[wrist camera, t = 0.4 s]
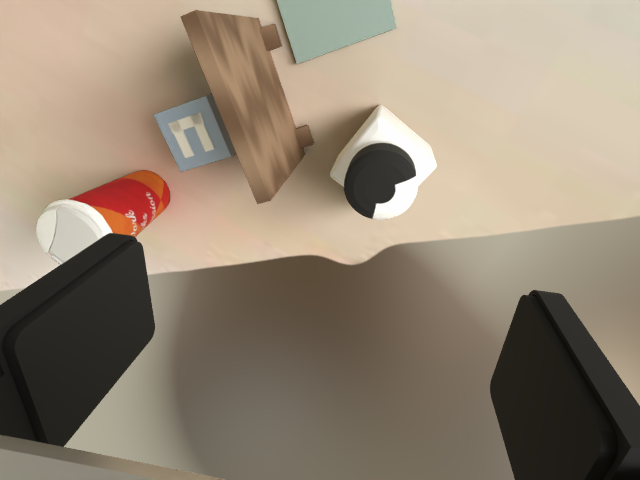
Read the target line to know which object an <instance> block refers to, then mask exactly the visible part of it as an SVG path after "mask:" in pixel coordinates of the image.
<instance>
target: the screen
mask: <svg viewBox="0 0 640 480" xmlns="http://www.w3.org/2000/svg"><path fill="white" fill-rule="evenodd" d="M181 19H182V22H183V24H184V27H185V29H186V31H187V34H188V36H189V39H190V41H191V44H192V46H193V49H194V51H195V53H196V56H197V58H198V61H199V63H200V66H201V68H202V70H203V73H204V75H205V78H206V80H207V83H208V85H209V88H210V90H211V92H212V95H213V97H214V100H215V102H216V105H217V107H218V109H219V112H220V114H221V117H222V119H223V122H224V124H225V127H226V129H227V131H228V134H229V136H230V139H231V141H232V144H233V146H234V148H235V151H236V153H237V156H238V158H239V161H240V163H241V166H242V168H243V170H244V173H245V175H246V178H247V180H248V183H249V185H250V187H251V190H252V192H253V195H254V197H255V200H256V202H257V204H259V203H263V202H267V201H271V199H272V198H273V197H274V195H275V194H276V193H277V191H278V190H279V189H280V187H281V186H282V185H283V183H284V182H285V181H286V179H287V178H288V177H289V175H290V174H291V173H292V171H293V170H294V169H295V167H296V166H297V165H298V163H299V162H300V161H301V159H302V158H303V157H304V155H305V153H304V151H303V147H307V146H310V145H312V144H313V143H314V142H313V139H312V136H311V132H310V129H309V126H308V125H306V126H302V127H299V128H296V127H295V124H294V121H293V118H292V115H291V112H290V109H289V106H288V104H287V101H286V98H285V95H284V92H283V89H282V86H281V83H280V80H279V77H278V74H277V71H276V68H275V65H274V62H273V59H272V56H271V54H270V50H273V49H276V48H278V47H281V46H282V44H281V41H280V38H279V35H278V32H277V28H276V25H275V24H271V25H269V26H266V27H264V28H262V27H261V24H260V21H259V18H252V17H244V16H236V15H229V14H221V13H213V12H206V11H198V10H195V11H193V12H190V13H188V14H186V15H183V16H181Z"/></svg>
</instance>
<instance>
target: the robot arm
mask: <svg viewBox="0 0 640 480" xmlns="http://www.w3.org/2000/svg"><path fill="white" fill-rule="evenodd" d="M154 330H155V323H154V316H153V310H152V303H151V297H150V290H149V284H148V277H147V271H146V264H145V257H144V251H143V246H142V244H141V243H140V242H137V239H136V238H135V237H134V236H132V235H124V234H117V233H109V234H106V235H105V236H103V237H102V238H100V239H99V240H97V241H96V242H94V243H93V244H91V245H90V246H88V247H87V248H85V249H84V250H82V251H81V252H79V253H78V254H76V255H75V256H73V257H72V258H70V259H69V260H67V261H66V262H64V263H63V264H61V265H60V266H58V267H57V268H55V269H54V270H52V271H51V272H49V273H48V274H46V275H45V276H43V277H42V278H40V279H39V280H37V281H36V282H34V283H33V284H31V285H30V286H28V287H27V288H25V289H24V290H22V291H21V292H19V293H18V294H16V295H15V296H13V297H12V298H10V299H9V300H7V301H6V302H4V303H3V304H1V305H0V480H226V479H221V478H216V477H211V476H206V475H201V474H196V473H192V472H186V471H182V470H177V469H172V468H167V467H162V466H157V465H152V464H147V463H142V462H137V461H132V460H126V459H121V458H116V457H112V456H106V455H101V454H96V453H91V452H86V451H81V450H76V449H71V448H66V447H64V445H65V444H66V443H67V442H68V441H69V440H70V438H71V437H72V436H73V435H74V433H75V432H76V431H77V430H78V429H79V427H80V426H81V425H82V424H83V422H84V421H85V420H86V419H87V417H88V416H89V415H90V414H91V412H92V411H93V410H94V409H95V408H96V406H97V405H98V404H99V403H100V401H101V400H102V399H103V398H104V396H105V395H106V394H107V393H108V392H109V390H110V389H111V388H112V387H113V386H114V384H115V383H116V382H117V380H118V379H119V378H120V377H121V376H122V374H123V373H124V372H125V371H126V370H127V368H128V367H129V366H130V365H131V363H132V362H133V361H134V360H135V358H136V357H137V356H138V355H139V353H140V352H141V351H142V350H143V349H144V347H145V346H146V345H147V344H148V342H149V341H150V340H151V339H152V337H153V334H154ZM490 393H491V398H492V401H493V405H494V408H495V412H496V415H497V419H498V422H499V426H500V429H501V433H502V436H503V440H504V443H505V447H506V450H507V454H508V457H509V460H510V464H511V467H512V471H513V474H514V478H515V480H640V406H639V404H638V403H637V401H636V400H635V398H634V397H633V396H632V394H631V393H630V391H629V390H628V388H627V387H626V385H625V384H624V383H623V382H622V380H621V378H620V377H619V375H618V374H617V373H616V371H615V370H614V368H613V367H612V365H611V364H610V362H609V361H608V360H607V358H606V357H605V355H604V354H603V352H602V351H601V349H600V348H599V347H598V345H597V344H596V342H595V341H594V340H593V338H592V337H591V335H590V334H589V332H588V331H587V329H586V328H585V326H584V325H583V324H582V322H581V321H580V319H579V318H578V317H577V315H576V313H575V312H574V311H573V309H572V308H571V306H570V305H569V303H568V302H567V300H566V299H565V298H564V296H563V295H562V294H559V293H551V292H545V291H537V290H533V291H531V292H530V294H529V295H523V296H522V297H521V298H520V300H519V303H518V305H517V308H516V311H515V314H514V317H513V320H512V322H511V325H510V328H509V331H508V334H507V337H506V340H505V342H504V345H503V348H502V351H501V354H500V357H499V360H498V362H497V365H496V368H495V371H494V374H493V376H492V380H491V385H490Z"/></svg>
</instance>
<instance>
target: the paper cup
mask: <svg viewBox="0 0 640 480" xmlns="http://www.w3.org/2000/svg"><path fill="white" fill-rule="evenodd" d="M169 202H170V191H169V188H168V186H167V184H166V183H165V181H164V180H163V179H162V178H161V177H160V176H158V175H157V174H155V173H153V172H151V171H145V170H143V171H138V172H135V173H132V174H129V175H127V176H124V177H122V178H119V179H117V180H114V181H112V182H109V183H107V184H104V185H102V186H100V187H97V188H95V189H92V190H90V191H87V192H85V193H83V194H80V195H78V196H75V197H73V198H71V199H65V200H57V201H55V202H52V203H51V204H49V205H48V206H47V207H46V208H45V210H44V212H43V214H42V215H41V216H40V217H39V219H38V222H37V226H36V233H37V237H38V241H39V243H40V245H41V247H42V248H43V250H44V251H45V253H46V254H47V253H49V254H50V255H51V256H52V257H51V258H53V259H54V260H55V261H56V262H58V263H59V264H60V265H61V264H63V263H64V262H66V261H67V260H69V259H70V258H72V257H73V256H75V255H76V254H78V253H79V252H81V251H82V250H84V249H85V248H87V247H88V246H90V245H91V244H93V243H94V242H96V241H97V240H99V239H100V238H102V237H103V236H105V235H106V234H109V233H117V234H124V235H132V236H134V237H136V236H137V235H138V234H139V233H140V232H141V231H142V230H143V229H144V228H145V227H147V226H148V225H149V224H150V223H151V222H152V221H153V220H154V219H155V218H156V217H157V216H158V215H159V214H161V213H162V212H163V211H164V209H165V208H166V207H167V206H168V204H169Z"/></svg>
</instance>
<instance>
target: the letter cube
mask: <svg viewBox="0 0 640 480" xmlns="http://www.w3.org/2000/svg"><path fill="white" fill-rule="evenodd" d="M154 117H155V119H156V121H157V123H158V125H159V128H160V130H161V132H162V134H163V136H164V138H165V140H166V142H167V144H168V146H169V149H170V151H171V153H172V155H173V157H174V159H175V161H176V163H177V165H178V167H179V170H180V172H183V171H186V170H189V169H193V168H196V167H199V166H202V165H206V164H209V163H212V162H215V161H219V160H222V159H225V158H229V157H232V156H233V155H234V154H236V151H235V148H234V146H233V144H232V141H231V139H230V136H229V134H228V131H227V129H226V127H225V124H224V122H223V119H222V117H221V114H220V112H219V109H218V107H217V105H216V102H215V100H214V97H213V95H212V94H210V95H207V96H204V97H201V98H198V99H196V100H193V101H190V102H187V103H185V104H182V105H179V106H176V107H173V108H171V109H168V110H165V111H162V112H160V113H157V114H154Z"/></svg>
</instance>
